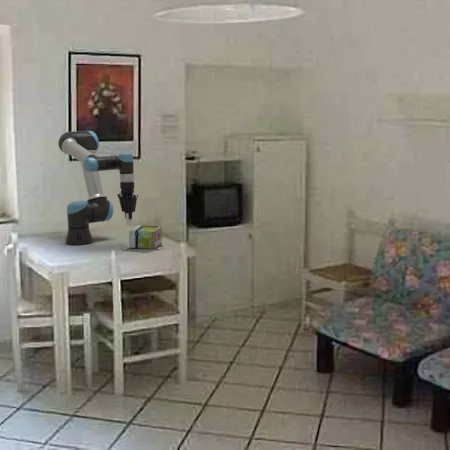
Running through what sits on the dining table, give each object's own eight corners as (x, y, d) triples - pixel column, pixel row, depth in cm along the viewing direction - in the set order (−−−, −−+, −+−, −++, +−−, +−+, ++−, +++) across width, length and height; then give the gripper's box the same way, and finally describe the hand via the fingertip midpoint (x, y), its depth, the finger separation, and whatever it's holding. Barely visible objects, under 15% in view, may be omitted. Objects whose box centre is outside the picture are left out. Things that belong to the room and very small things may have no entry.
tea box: (128, 248, 408) (155, 249, 406) (128, 229, 406) (155, 231, 404) (136, 242, 423) (162, 244, 420) (136, 224, 421) (162, 226, 418)
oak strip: (121, 250, 406) (121, 249, 406) (143, 244, 421) (143, 243, 421) (124, 250, 405) (124, 249, 405) (145, 245, 420) (145, 243, 420)
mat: (125, 250, 406) (125, 250, 406) (145, 245, 419) (145, 245, 419) (146, 252, 398) (146, 252, 398) (165, 247, 411) (165, 247, 411)
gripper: (113, 181, 409) (115, 225, 413) (131, 182, 402) (133, 226, 406) (122, 180, 416) (124, 223, 419) (140, 181, 408) (142, 224, 412)
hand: (129, 224), depth 413 cm, fingers closed
